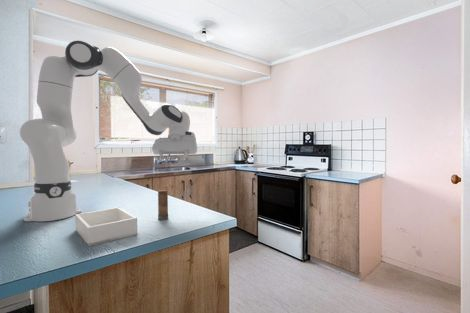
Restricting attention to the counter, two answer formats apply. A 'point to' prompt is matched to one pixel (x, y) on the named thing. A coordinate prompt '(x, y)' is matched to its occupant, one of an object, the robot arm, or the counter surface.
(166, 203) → the brown wooden block
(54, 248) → the counter surface
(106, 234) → the bin
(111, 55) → the robot arm
